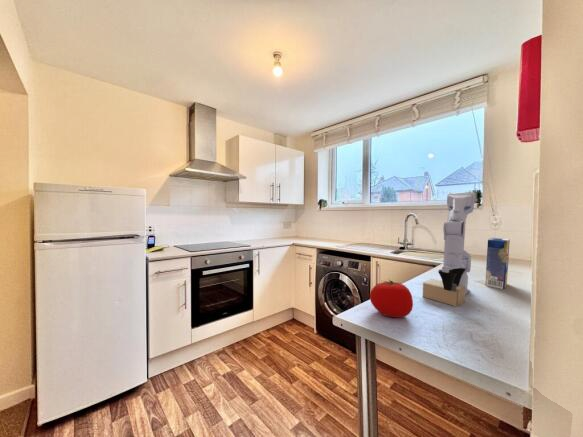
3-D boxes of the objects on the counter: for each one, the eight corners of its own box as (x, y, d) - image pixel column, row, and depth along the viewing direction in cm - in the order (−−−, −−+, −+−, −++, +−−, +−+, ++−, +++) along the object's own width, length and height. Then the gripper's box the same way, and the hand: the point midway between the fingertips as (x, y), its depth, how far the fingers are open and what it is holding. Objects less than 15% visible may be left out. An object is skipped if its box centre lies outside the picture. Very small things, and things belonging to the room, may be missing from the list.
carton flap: (423, 296, 100) (423, 276, 100) (456, 305, 91) (457, 284, 90) (422, 296, 99) (422, 277, 99) (455, 306, 90) (456, 285, 90)
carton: (430, 292, 106) (431, 278, 105) (464, 301, 96) (465, 286, 95) (422, 296, 101) (423, 282, 100) (457, 306, 91) (458, 290, 90)
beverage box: (506, 283, 117) (509, 239, 116) (504, 289, 110) (507, 241, 108) (489, 280, 122) (491, 237, 121) (485, 285, 115) (487, 240, 113)
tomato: (406, 327, 75) (408, 291, 74) (364, 314, 84) (365, 282, 83) (416, 313, 84) (418, 282, 84) (378, 303, 93) (379, 274, 93)
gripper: (458, 257, 83) (456, 295, 84) (471, 252, 92) (470, 286, 93) (436, 253, 88) (434, 289, 89) (450, 249, 97) (449, 282, 98)
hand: (451, 287), depth 91 cm, fingers open, 7 cm apart
